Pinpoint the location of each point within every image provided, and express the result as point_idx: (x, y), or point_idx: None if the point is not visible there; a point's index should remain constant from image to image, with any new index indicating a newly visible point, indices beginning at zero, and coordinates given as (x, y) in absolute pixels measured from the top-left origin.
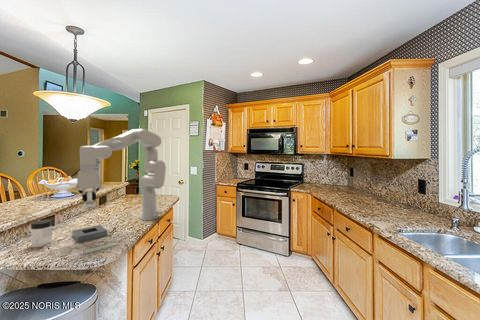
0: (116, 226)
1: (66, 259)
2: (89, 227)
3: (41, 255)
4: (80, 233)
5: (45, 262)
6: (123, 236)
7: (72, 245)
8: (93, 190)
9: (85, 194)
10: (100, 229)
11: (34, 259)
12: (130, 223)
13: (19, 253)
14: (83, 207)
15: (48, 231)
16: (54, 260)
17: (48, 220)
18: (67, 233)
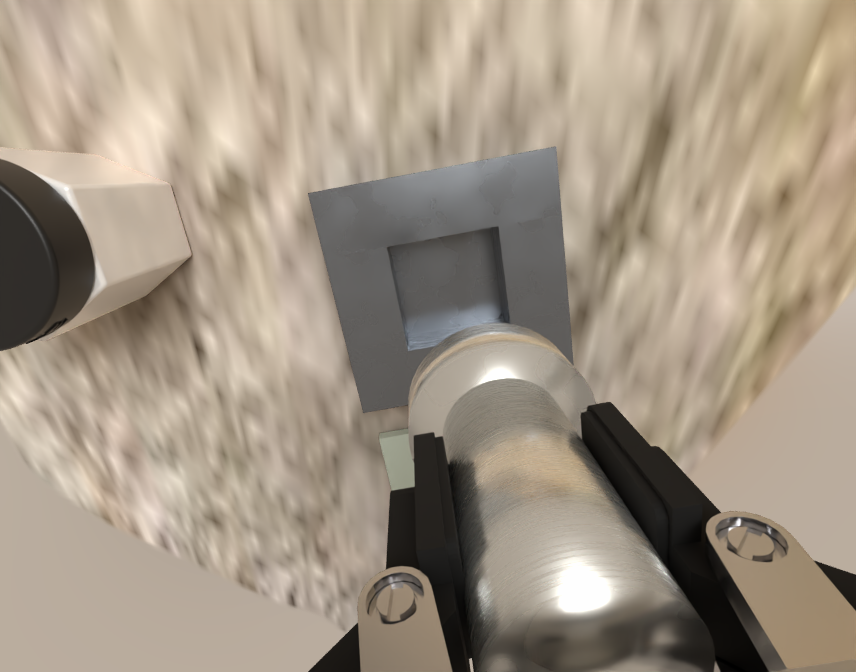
0: (691, 67)
1: (327, 569)
2: (454, 181)
3: (187, 452)
4: (380, 332)
5: (235, 554)
6: (649, 394)
7: (337, 381)
8: (754, 618)
9: (467, 659)
10: (532, 314)
11: (168, 490)
12: (833, 42)
13: (35, 344)
14: (408, 409)
15: (113, 295)
16: (273, 553)
17: (15, 241)
18: (262, 8)
